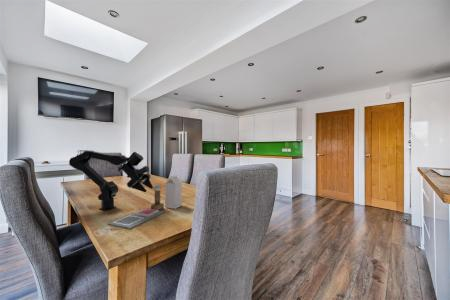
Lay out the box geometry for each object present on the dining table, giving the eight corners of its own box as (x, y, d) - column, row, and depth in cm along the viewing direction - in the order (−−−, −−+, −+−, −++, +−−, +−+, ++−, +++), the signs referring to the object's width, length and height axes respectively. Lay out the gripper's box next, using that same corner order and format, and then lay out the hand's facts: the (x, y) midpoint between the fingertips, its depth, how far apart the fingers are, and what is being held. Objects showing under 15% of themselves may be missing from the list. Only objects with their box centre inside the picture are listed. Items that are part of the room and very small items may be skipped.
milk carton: (181, 205, 118) (181, 175, 118) (175, 209, 111) (175, 177, 111) (172, 204, 120) (172, 175, 120) (165, 207, 113) (165, 176, 113)
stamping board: (107, 224, 88) (107, 220, 88) (144, 209, 110) (144, 206, 110) (130, 229, 83) (130, 225, 83) (164, 212, 105) (164, 209, 105)
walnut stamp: (151, 209, 110) (151, 184, 110) (156, 207, 114) (157, 183, 114) (158, 210, 108) (158, 185, 108) (163, 208, 113) (163, 183, 113)
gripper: (132, 163, 102) (152, 183, 102) (147, 160, 121) (164, 178, 120) (118, 177, 102) (138, 197, 102) (135, 173, 121) (152, 190, 121)
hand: (149, 189), depth 111 cm, fingers open, 9 cm apart
